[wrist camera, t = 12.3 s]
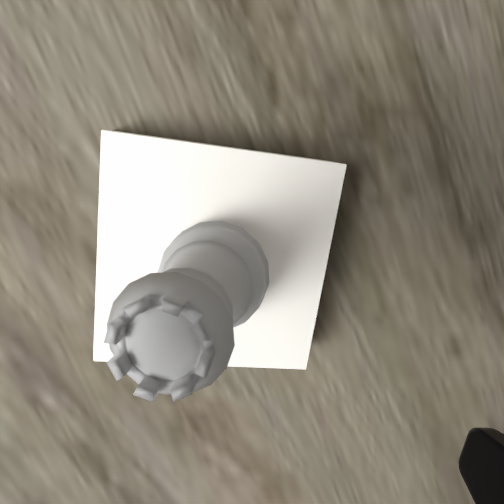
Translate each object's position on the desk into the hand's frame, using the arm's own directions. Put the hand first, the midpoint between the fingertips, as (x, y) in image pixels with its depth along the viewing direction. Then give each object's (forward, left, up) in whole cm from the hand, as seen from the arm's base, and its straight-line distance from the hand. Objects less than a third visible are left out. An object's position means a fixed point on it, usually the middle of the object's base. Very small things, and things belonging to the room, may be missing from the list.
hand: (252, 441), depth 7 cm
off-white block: (0, 0, -14) cm, 14 cm away
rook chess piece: (0, 0, -10) cm, 10 cm away
